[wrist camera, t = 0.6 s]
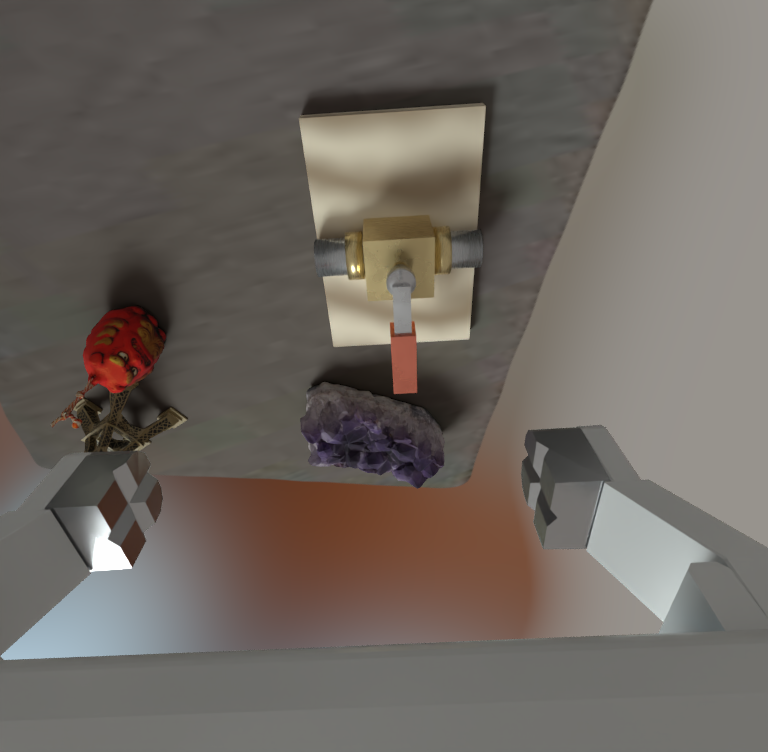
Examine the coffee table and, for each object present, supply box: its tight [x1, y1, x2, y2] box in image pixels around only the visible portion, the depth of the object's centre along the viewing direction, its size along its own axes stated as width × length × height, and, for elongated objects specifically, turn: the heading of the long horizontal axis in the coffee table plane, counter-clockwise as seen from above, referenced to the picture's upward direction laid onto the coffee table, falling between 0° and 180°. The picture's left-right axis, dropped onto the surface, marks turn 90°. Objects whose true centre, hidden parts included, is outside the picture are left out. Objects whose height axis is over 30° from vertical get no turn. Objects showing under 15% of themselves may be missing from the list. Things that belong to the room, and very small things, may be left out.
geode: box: [300, 382, 445, 488], centre depth 61 cm, size 20×12×10 cm, turn 73°
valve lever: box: [386, 264, 417, 394], centre depth 45 cm, size 13×3×3 cm, turn 3°
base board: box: [299, 103, 486, 347], centre depth 48 cm, size 24×16×2 cm, turn 3°
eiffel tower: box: [74, 382, 187, 453], centre depth 53 cm, size 11×11×25 cm
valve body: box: [314, 215, 483, 301], centre depth 45 cm, size 6×16×6 cm, turn 93°
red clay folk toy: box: [51, 305, 166, 428], centre depth 49 cm, size 8×7×15 cm
